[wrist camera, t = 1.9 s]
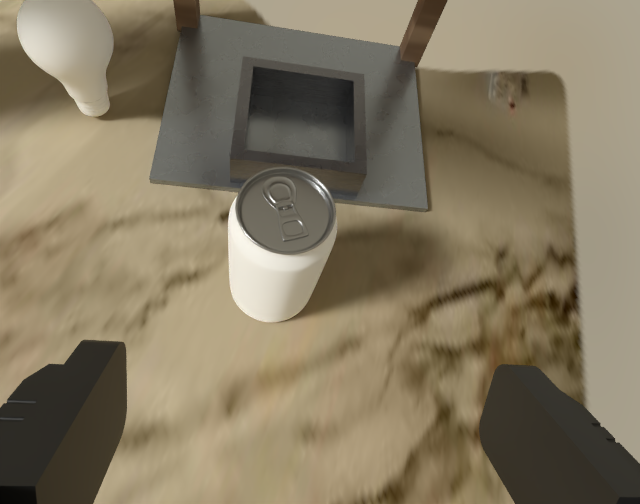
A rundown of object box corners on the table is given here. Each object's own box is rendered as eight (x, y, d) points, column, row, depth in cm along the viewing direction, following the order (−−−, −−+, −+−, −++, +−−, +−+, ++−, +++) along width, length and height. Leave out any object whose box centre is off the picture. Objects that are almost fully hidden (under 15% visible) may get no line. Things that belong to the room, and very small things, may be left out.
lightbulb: (59, 85, 41) (3, -35, 31) (132, 83, 42) (101, -33, 32) (58, 141, 38) (-3, 29, 28) (135, 137, 40) (102, 29, 30)
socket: (425, 212, 42) (443, 188, 38) (150, 182, 38) (141, 153, 35) (411, 53, 50) (424, 21, 46) (185, 17, 47) (181, -20, 43)
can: (297, 239, 38) (321, 151, 27) (322, 311, 36) (360, 245, 25) (220, 258, 36) (214, 171, 26) (242, 334, 34) (245, 274, 23)
